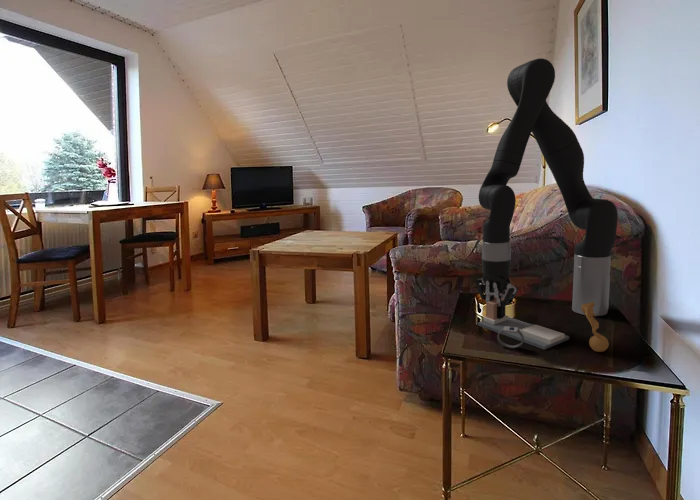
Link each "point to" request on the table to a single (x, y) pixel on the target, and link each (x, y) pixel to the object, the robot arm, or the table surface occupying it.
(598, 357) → the table surface
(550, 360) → the table surface
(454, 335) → the table surface
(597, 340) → the figurine
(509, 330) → the wristwatch
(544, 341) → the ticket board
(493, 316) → the tan rectangular block
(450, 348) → the table surface
